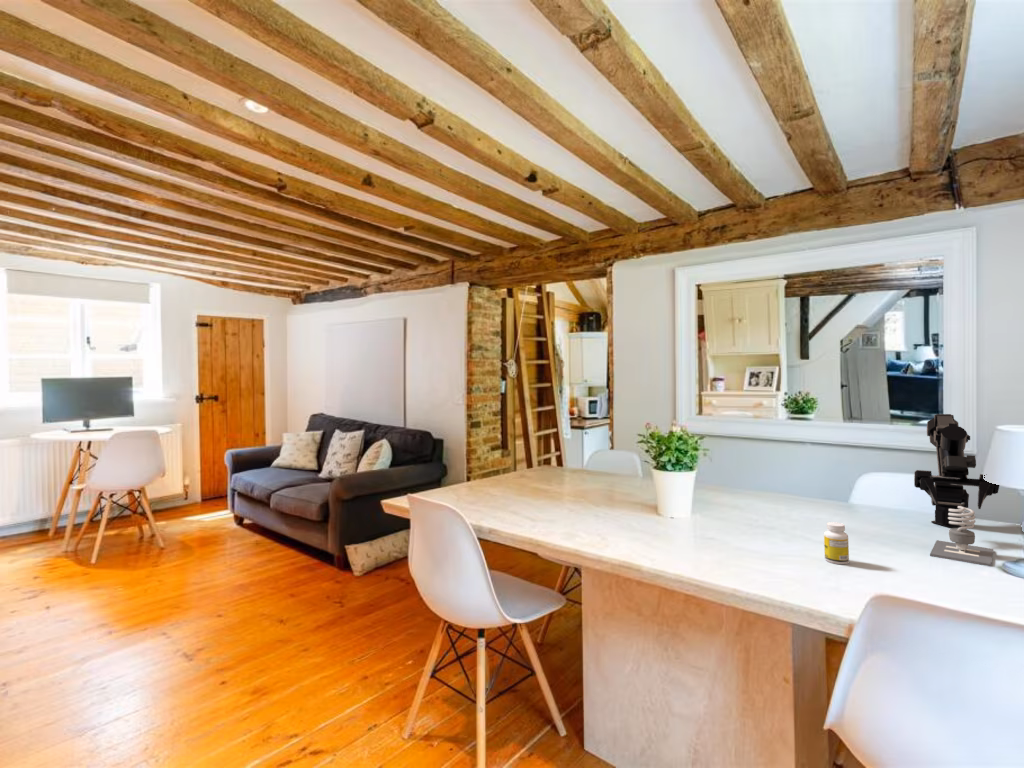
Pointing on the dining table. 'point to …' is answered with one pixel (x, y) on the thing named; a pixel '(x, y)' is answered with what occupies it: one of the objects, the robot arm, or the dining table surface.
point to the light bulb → (962, 534)
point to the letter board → (962, 553)
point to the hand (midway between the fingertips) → (957, 506)
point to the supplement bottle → (836, 544)
